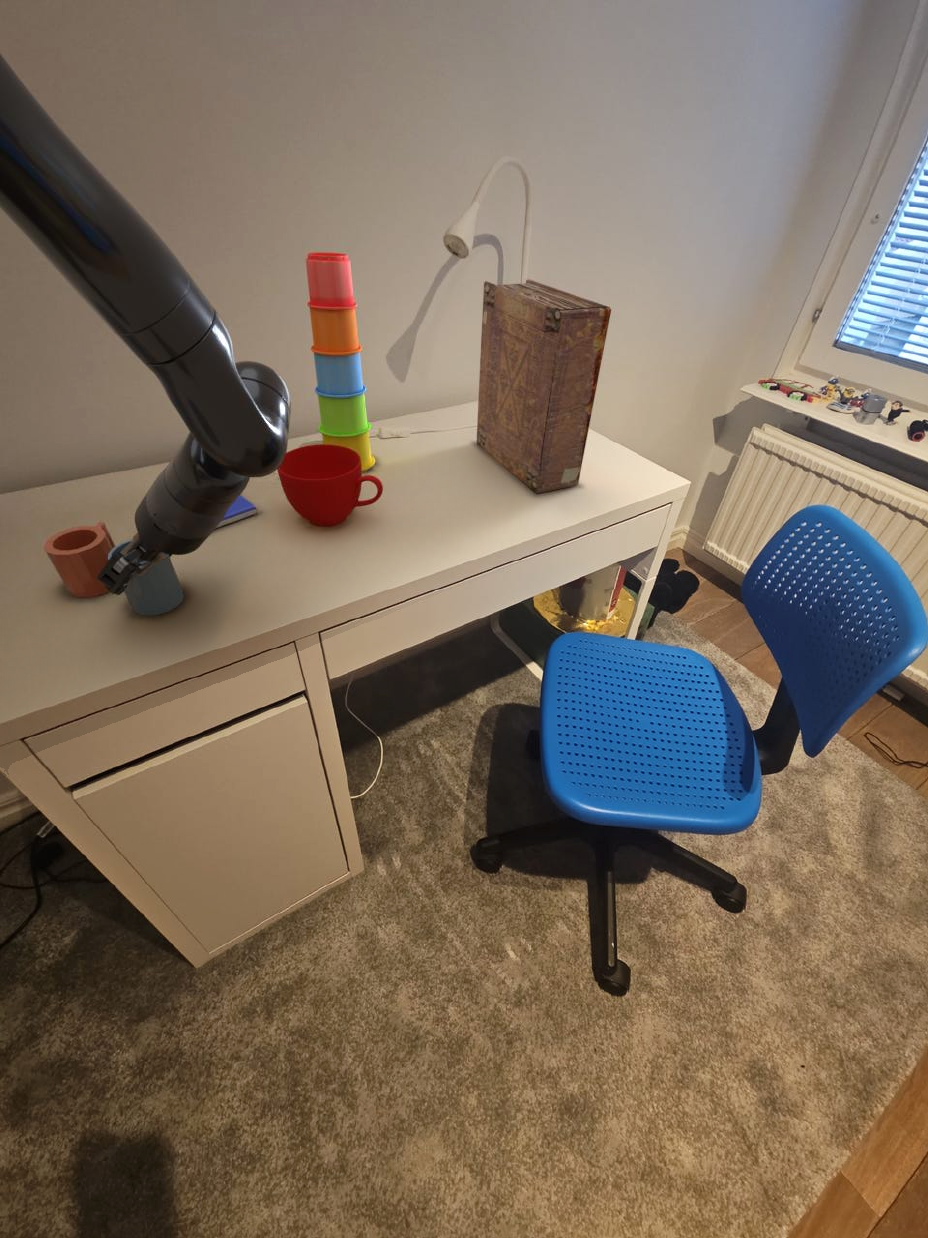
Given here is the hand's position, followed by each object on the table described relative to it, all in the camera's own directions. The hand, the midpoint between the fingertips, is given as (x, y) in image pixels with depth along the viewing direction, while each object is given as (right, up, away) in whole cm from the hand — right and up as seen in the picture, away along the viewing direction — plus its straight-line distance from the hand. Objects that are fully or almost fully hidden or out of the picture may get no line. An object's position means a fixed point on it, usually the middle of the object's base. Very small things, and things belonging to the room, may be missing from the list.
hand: (138, 569), depth 70 cm
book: (+55, +25, +39) cm, 72 cm away
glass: (+1, -4, +3) cm, 5 cm away
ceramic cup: (+21, +10, +20) cm, 31 cm away
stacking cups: (+20, +24, +36) cm, 48 cm away
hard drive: (0, +10, +20) cm, 22 cm away
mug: (-9, 0, +7) cm, 11 cm away
